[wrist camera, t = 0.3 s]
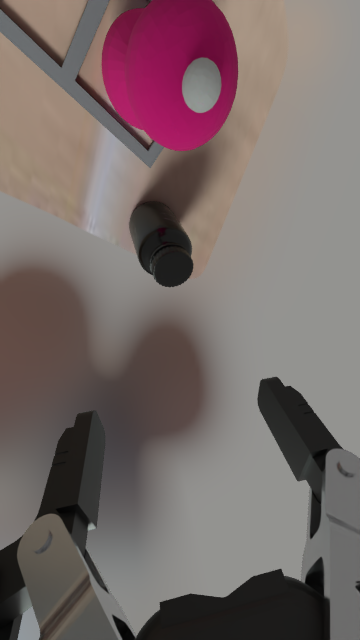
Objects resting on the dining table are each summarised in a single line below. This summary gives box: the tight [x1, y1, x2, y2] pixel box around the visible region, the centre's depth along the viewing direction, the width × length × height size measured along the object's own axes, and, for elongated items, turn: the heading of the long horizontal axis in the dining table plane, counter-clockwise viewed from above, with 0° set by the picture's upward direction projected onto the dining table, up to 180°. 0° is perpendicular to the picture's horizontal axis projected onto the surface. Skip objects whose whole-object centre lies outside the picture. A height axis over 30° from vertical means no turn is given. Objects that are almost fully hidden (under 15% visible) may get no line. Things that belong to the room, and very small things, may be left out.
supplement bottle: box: [129, 201, 193, 287], centre depth 30 cm, size 7×7×12 cm
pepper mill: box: [102, 0, 238, 151], centre depth 17 cm, size 7×7×20 cm
